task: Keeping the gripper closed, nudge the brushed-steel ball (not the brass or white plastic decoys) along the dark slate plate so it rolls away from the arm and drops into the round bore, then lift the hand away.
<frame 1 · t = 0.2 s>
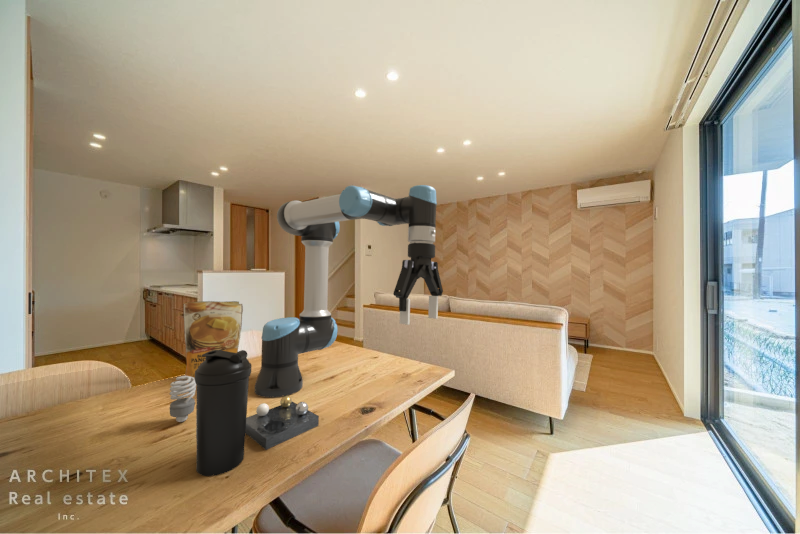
hand: (419, 321, 80), 28 cm above the table, fingers open, 13 cm apart
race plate: (280, 427, 75), on the table
pancake mix bag: (211, 376, 109), on the table
brass ball: (286, 401, 81), point 4 cm above the table, touching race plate
white plastic ball: (262, 409, 76), point 4 cm above the table, touching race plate
water bottle: (220, 463, 61), on the table
light bulb: (181, 422, 76), on the table
steel ball: (301, 408, 77), point 4 cm above the table, touching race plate
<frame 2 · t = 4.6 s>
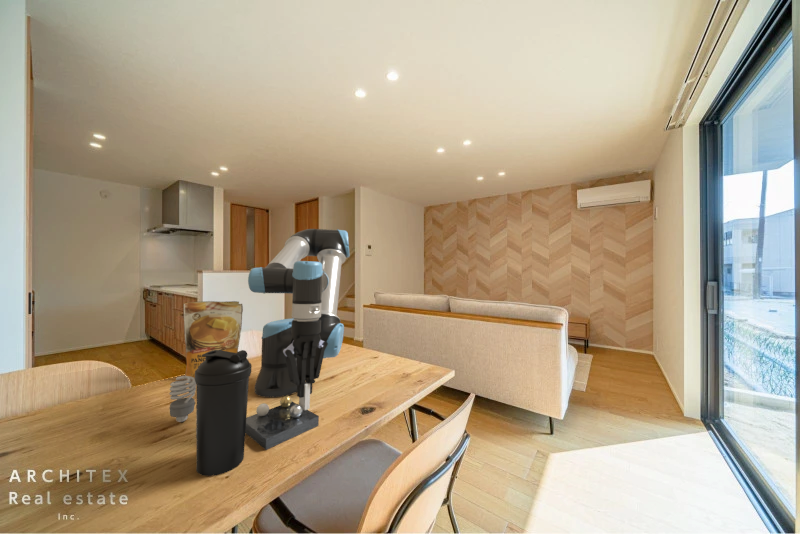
hand: (304, 407, 77), 4 cm above the table, fingers closed
steel ball: (296, 410, 76), point 4 cm above the table, tilted 54°, touching gripper, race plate
everything else where it was.
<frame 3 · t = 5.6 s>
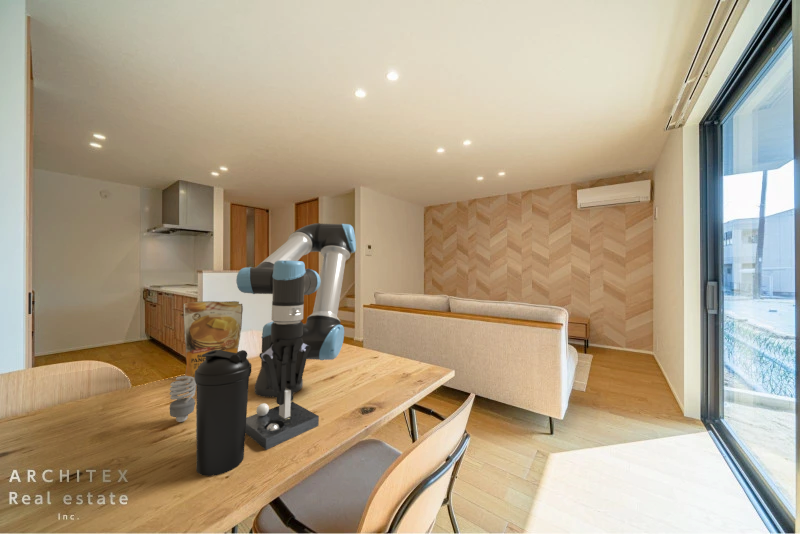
hand: (284, 415, 73), 4 cm above the table, fingers closed
steel ball: (272, 430, 71), point 2 cm above the table, tilted 65°
everything else where it was.
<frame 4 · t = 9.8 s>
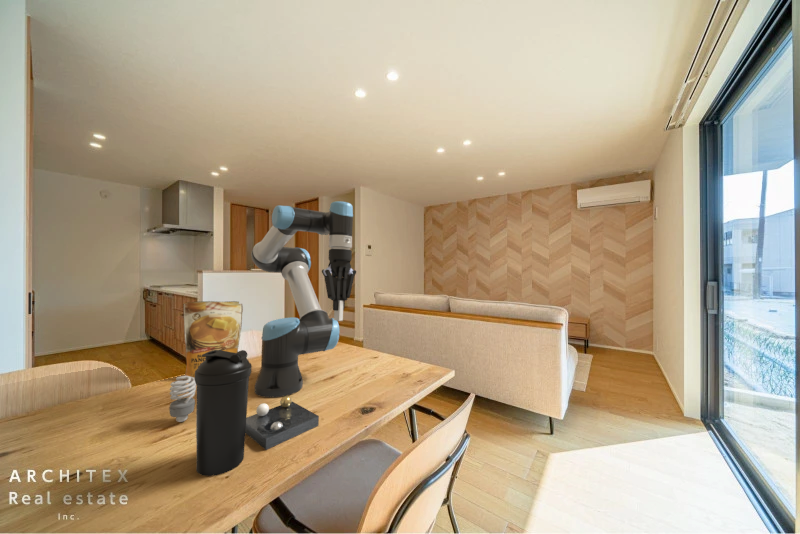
hand: (338, 320, 96), 24 cm above the table, fingers closed
steel ball: (276, 428, 71), point 2 cm above the table, tilted 103°
everything else where it was.
at the end: steel ball 0.6 cm from the target spot on the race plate, point 1.6 cm above the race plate's base; brass ball moved 0.1 cm from its start; white plastic ball moved 0.1 cm from its start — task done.
